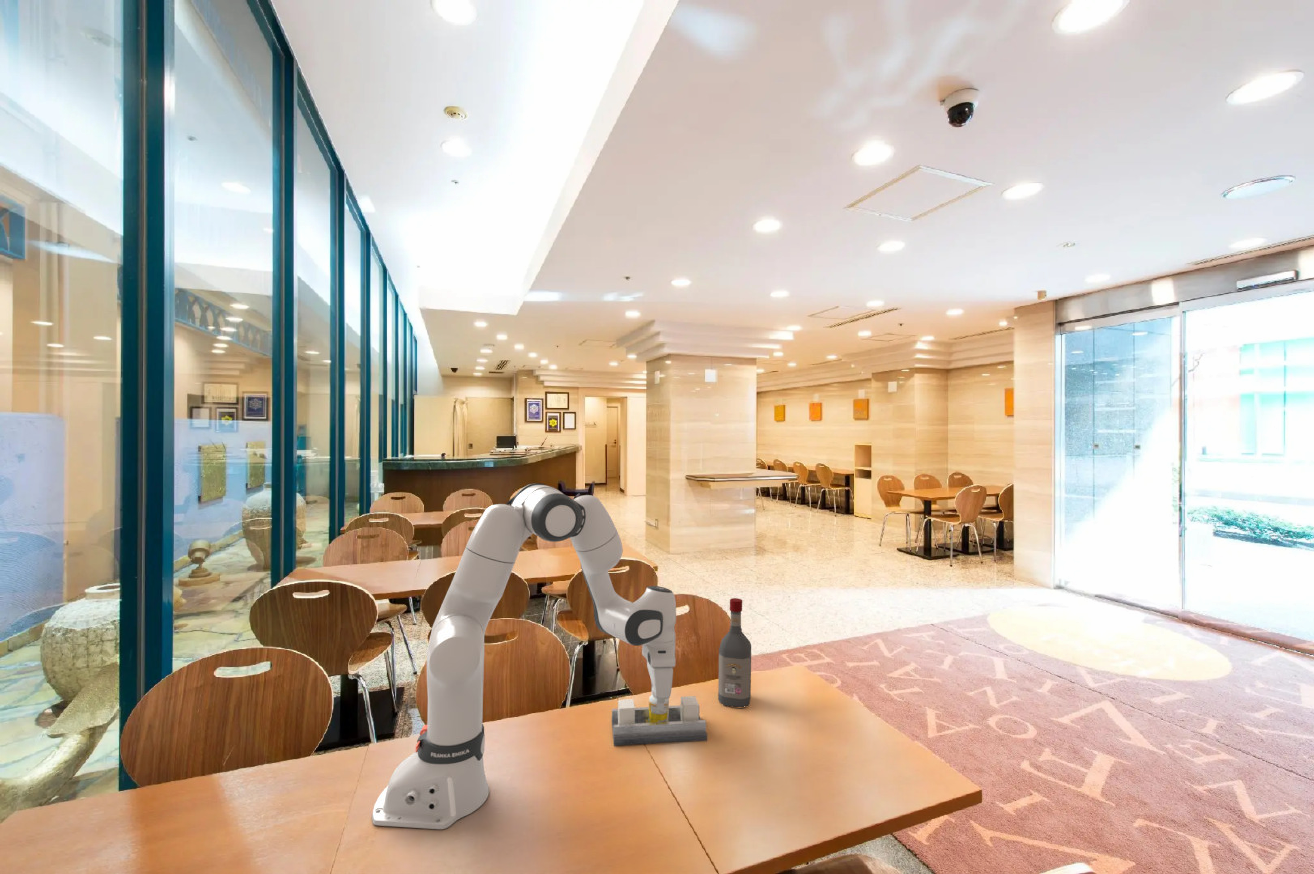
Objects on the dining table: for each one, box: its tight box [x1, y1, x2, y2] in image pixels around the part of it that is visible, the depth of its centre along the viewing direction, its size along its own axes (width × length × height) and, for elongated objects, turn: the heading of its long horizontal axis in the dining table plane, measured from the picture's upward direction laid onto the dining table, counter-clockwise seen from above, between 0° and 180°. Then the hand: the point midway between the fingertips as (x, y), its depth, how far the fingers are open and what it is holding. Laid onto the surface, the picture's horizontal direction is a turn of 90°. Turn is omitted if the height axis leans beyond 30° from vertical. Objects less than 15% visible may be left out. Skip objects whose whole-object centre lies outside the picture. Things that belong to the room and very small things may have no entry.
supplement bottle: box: [648, 686, 670, 723], centre depth 142 cm, size 5×5×10 cm
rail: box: [611, 704, 708, 747], centre depth 142 cm, size 24×12×4 cm, turn 98°
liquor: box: [717, 597, 752, 708], centre depth 159 cm, size 9×9×30 cm
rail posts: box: [617, 695, 700, 725], centre depth 142 cm, size 21×5×6 cm, turn 98°
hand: (657, 699), depth 142 cm, fingers open, 8 cm apart
